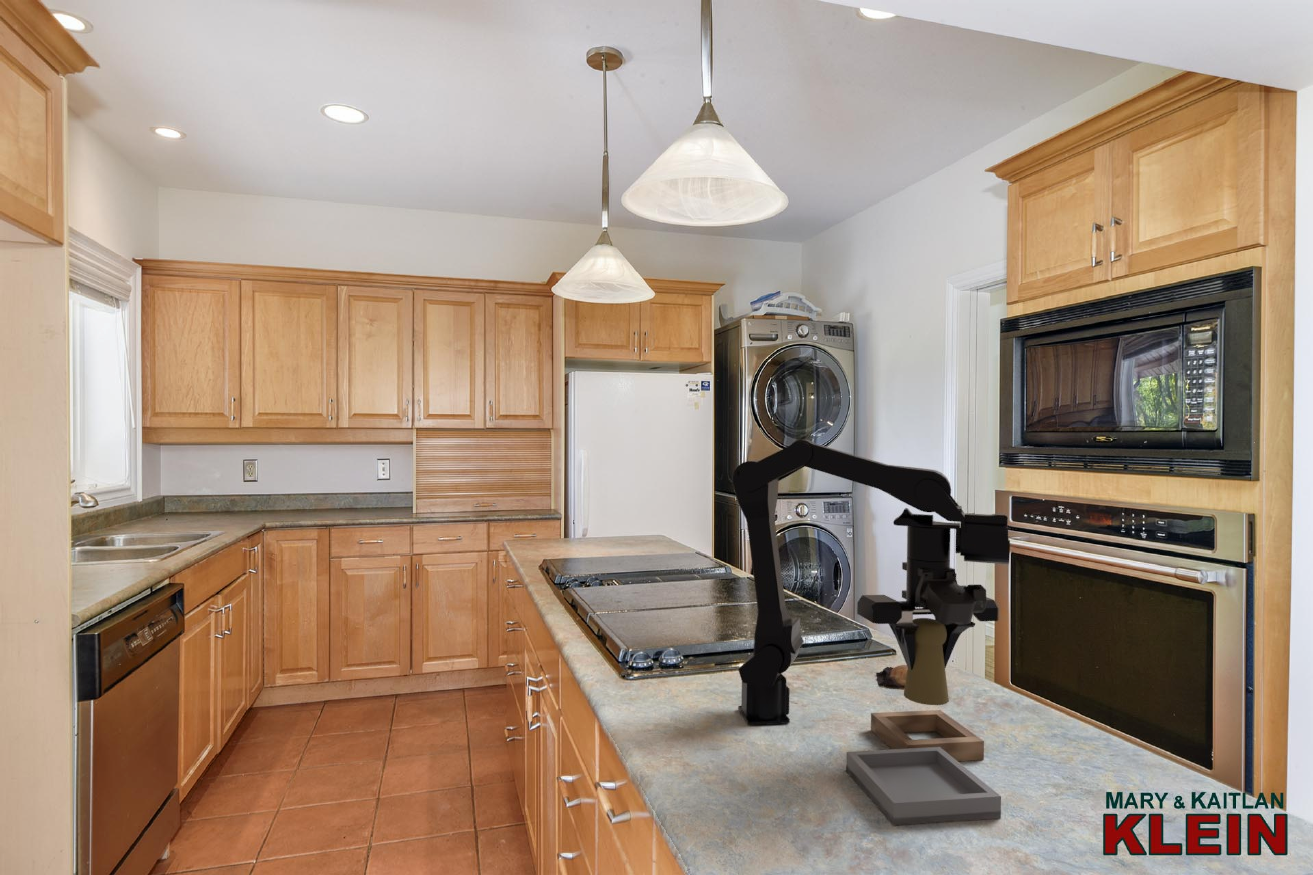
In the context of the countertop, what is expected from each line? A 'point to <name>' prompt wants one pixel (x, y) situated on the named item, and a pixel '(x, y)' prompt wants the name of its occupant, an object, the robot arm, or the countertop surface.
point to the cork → (928, 665)
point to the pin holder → (955, 735)
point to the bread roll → (893, 677)
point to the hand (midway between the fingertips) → (926, 668)
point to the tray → (922, 786)
